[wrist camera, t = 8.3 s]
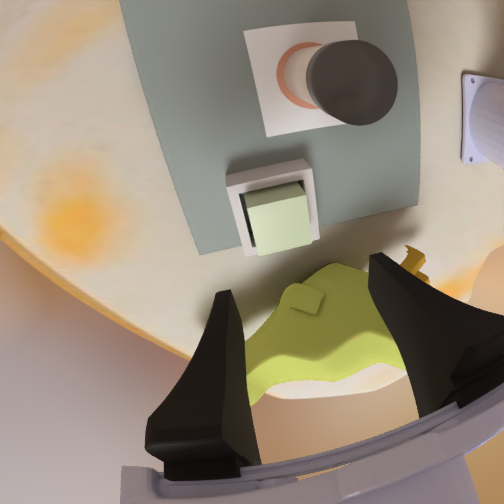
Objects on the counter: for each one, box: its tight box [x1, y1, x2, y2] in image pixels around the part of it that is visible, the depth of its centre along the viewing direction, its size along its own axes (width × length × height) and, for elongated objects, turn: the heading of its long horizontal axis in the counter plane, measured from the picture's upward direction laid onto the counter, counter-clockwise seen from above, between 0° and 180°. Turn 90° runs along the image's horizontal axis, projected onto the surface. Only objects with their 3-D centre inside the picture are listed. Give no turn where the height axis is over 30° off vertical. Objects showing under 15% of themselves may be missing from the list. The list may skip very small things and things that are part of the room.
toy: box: [245, 245, 429, 406], centre depth 22 cm, size 6×17×20 cm
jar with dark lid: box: [283, 40, 398, 126], centre depth 13 cm, size 4×4×7 cm
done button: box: [244, 181, 312, 256], centre depth 19 cm, size 3×3×2 cm
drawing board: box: [119, 0, 420, 257], centre depth 15 cm, size 18×23×2 cm
